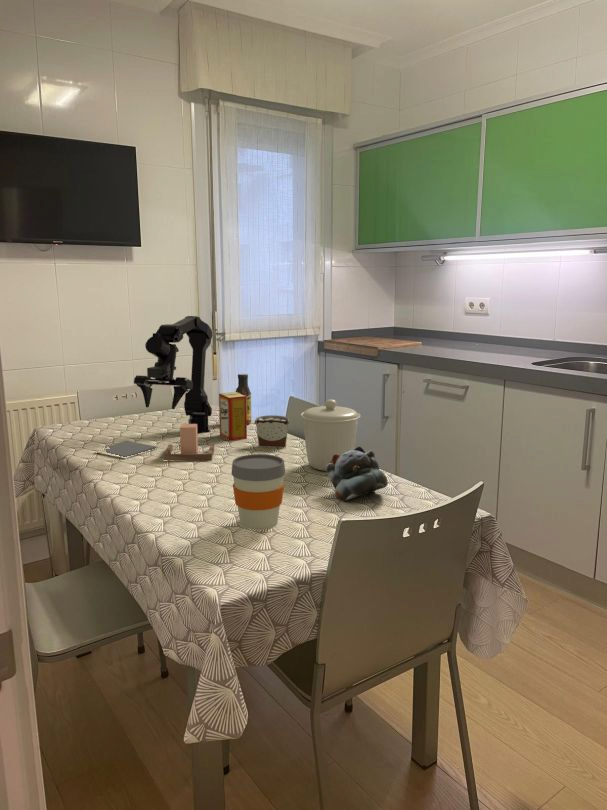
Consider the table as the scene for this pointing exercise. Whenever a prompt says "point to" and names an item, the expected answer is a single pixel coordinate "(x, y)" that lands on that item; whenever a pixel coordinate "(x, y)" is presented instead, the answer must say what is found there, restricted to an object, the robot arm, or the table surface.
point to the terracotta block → (189, 439)
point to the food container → (272, 431)
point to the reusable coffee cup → (258, 489)
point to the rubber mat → (128, 448)
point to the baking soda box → (233, 416)
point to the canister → (328, 432)
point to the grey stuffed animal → (355, 474)
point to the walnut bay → (188, 455)
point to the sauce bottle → (245, 393)
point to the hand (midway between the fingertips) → (160, 408)
